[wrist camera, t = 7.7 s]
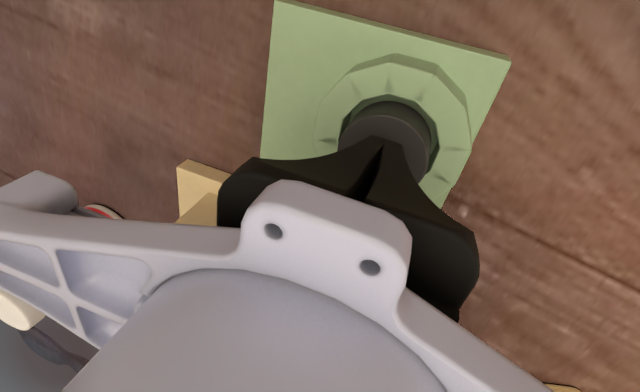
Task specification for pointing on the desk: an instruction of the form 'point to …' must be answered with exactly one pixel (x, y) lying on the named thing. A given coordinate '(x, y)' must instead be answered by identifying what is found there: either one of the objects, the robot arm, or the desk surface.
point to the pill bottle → (23, 313)
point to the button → (393, 132)
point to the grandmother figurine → (562, 388)
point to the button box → (372, 86)
